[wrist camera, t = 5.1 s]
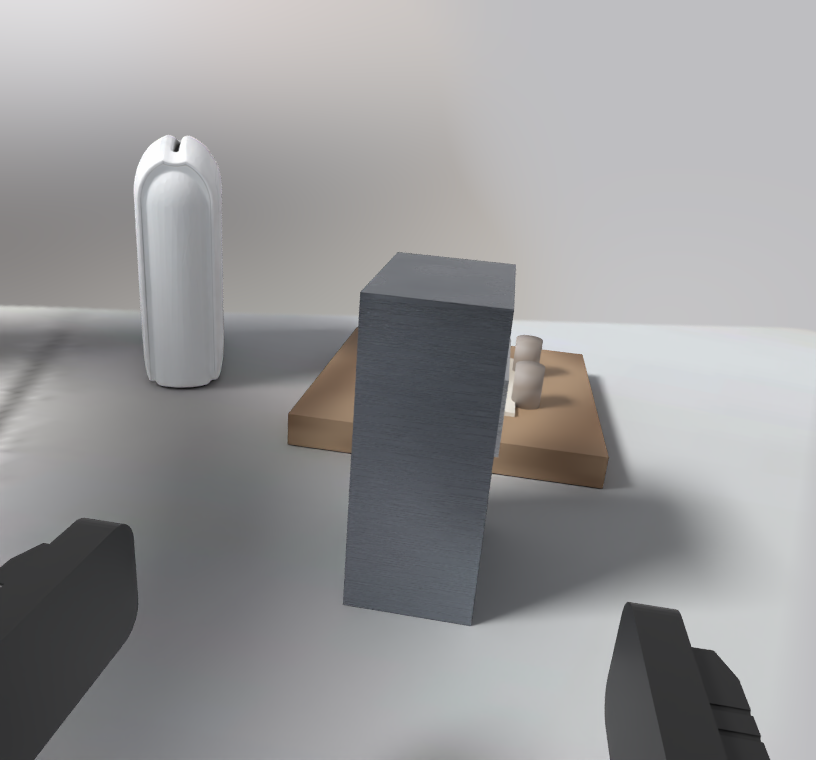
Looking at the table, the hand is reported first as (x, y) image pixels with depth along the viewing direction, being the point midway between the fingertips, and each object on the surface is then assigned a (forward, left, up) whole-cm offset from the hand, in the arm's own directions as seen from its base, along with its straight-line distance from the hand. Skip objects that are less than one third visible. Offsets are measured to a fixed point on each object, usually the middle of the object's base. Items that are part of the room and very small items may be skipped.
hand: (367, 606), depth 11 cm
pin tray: (0, +25, -7) cm, 26 cm away
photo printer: (-16, +28, -7) cm, 33 cm away
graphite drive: (0, +12, -7) cm, 13 cm away
